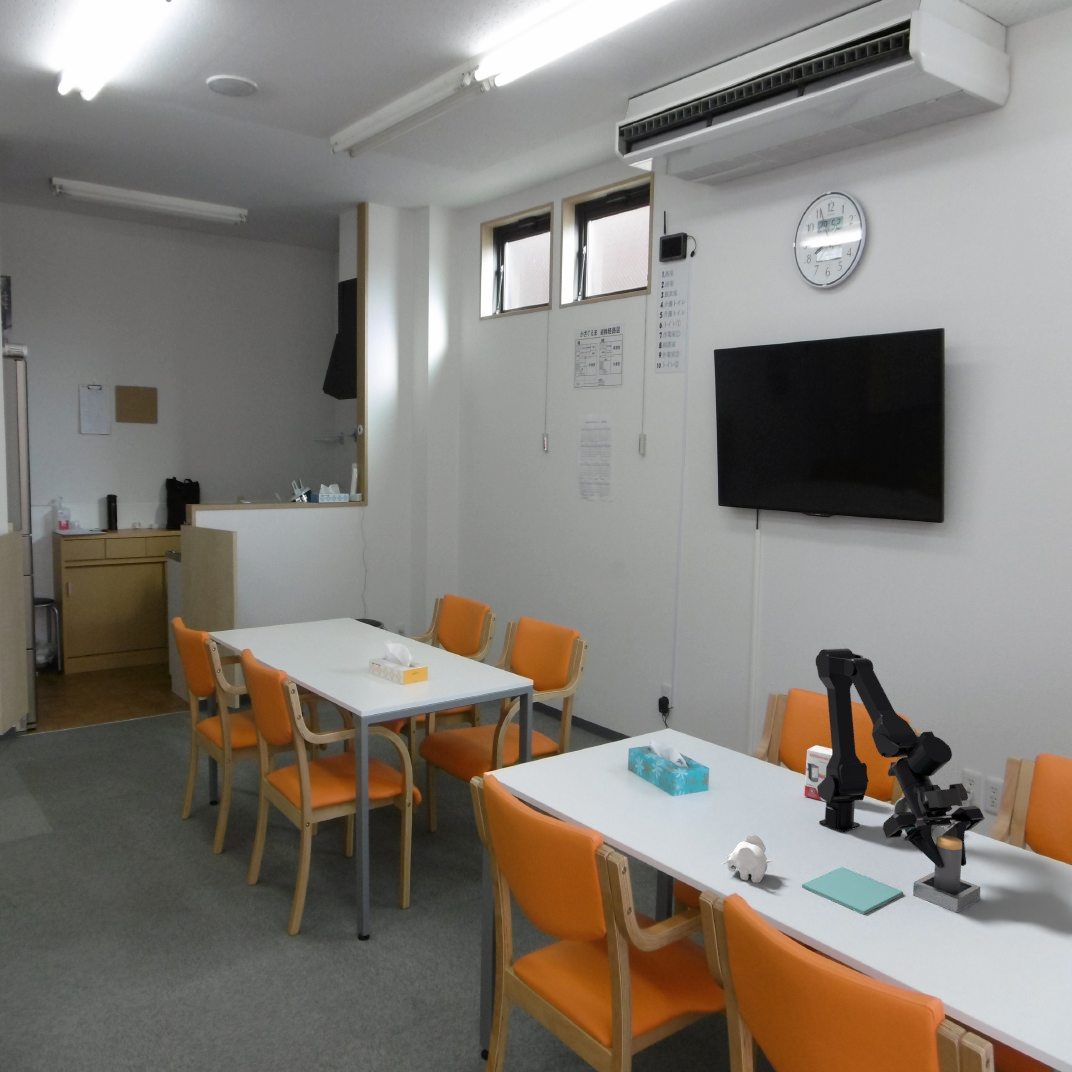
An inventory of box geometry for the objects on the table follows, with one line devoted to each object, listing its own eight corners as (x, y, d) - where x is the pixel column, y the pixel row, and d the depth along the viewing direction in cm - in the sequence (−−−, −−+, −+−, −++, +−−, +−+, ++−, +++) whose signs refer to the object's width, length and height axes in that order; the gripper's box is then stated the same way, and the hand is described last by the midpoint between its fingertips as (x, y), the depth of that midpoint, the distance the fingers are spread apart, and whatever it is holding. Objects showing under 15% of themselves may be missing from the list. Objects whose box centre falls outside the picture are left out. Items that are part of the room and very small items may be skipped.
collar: (936, 883, 175) (936, 870, 174) (979, 899, 168) (980, 886, 168) (913, 895, 170) (913, 882, 169) (956, 912, 163) (957, 899, 163)
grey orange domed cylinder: (941, 889, 172) (943, 833, 171) (963, 898, 168) (966, 841, 168) (928, 896, 169) (931, 838, 168) (951, 905, 166) (954, 846, 165)
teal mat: (841, 869, 180) (841, 866, 180) (902, 894, 170) (902, 891, 170) (801, 887, 172) (802, 884, 172) (863, 914, 162) (863, 911, 162)
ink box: (803, 796, 220) (805, 749, 219) (811, 791, 224) (813, 744, 223) (838, 805, 215) (840, 757, 214) (846, 800, 218) (848, 752, 218)
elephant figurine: (726, 863, 182) (728, 828, 182) (775, 873, 178) (776, 837, 178) (717, 878, 175) (718, 842, 175) (767, 889, 171) (769, 852, 171)
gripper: (894, 771, 169) (931, 853, 159) (980, 765, 173) (1020, 844, 163) (867, 797, 177) (900, 877, 167) (950, 790, 181) (987, 868, 171)
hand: (953, 866), depth 167 cm, fingers closed on grey orange domed cylinder, 4 cm apart
